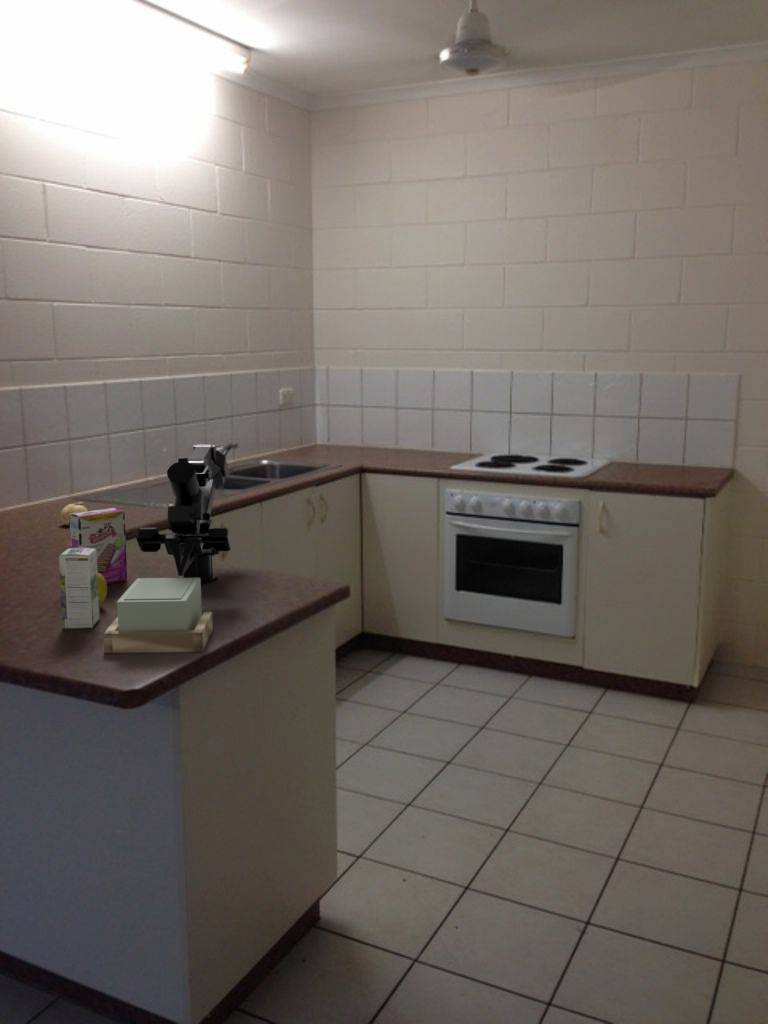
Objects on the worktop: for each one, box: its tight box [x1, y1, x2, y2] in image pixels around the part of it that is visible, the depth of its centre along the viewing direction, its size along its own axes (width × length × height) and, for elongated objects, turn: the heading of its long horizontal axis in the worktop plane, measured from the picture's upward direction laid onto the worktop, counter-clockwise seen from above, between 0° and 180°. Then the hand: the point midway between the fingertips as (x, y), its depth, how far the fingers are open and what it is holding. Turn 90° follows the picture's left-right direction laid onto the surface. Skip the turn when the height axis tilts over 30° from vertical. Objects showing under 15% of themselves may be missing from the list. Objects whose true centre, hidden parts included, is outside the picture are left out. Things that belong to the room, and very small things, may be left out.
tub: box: [116, 577, 203, 631], centre depth 170 cm, size 16×12×9 cm
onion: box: [59, 500, 89, 527], centre depth 270 cm, size 8×8×7 cm
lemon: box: [98, 573, 108, 605], centre depth 187 cm, size 6×6×8 cm
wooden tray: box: [102, 611, 214, 654], centre depth 167 cm, size 12×17×4 cm
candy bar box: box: [69, 507, 128, 585], centre depth 205 cm, size 11×5×16 cm, turn 134°
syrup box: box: [58, 547, 100, 630], centre depth 175 cm, size 6×6×14 cm
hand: (180, 575), depth 187 cm, fingers closed
